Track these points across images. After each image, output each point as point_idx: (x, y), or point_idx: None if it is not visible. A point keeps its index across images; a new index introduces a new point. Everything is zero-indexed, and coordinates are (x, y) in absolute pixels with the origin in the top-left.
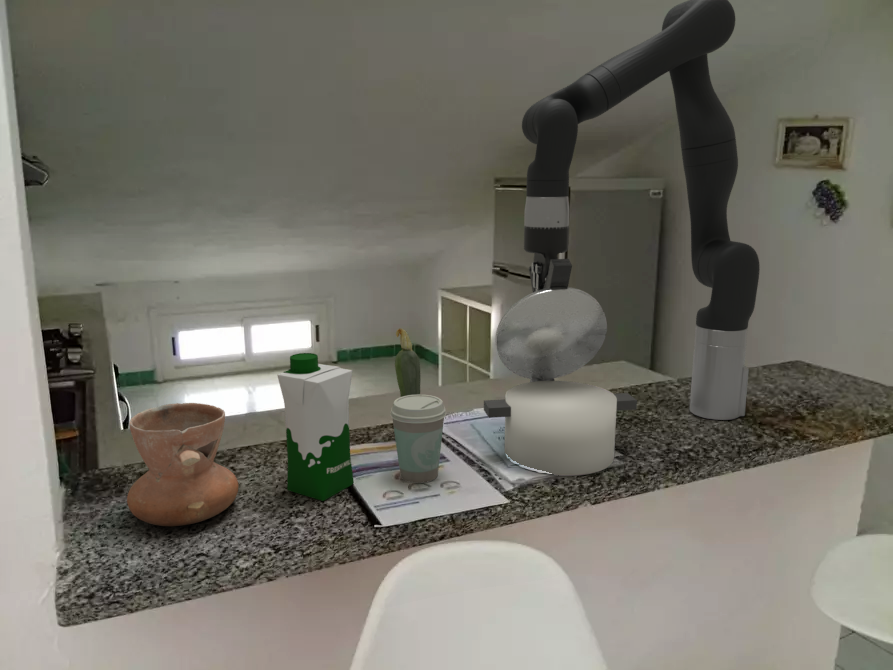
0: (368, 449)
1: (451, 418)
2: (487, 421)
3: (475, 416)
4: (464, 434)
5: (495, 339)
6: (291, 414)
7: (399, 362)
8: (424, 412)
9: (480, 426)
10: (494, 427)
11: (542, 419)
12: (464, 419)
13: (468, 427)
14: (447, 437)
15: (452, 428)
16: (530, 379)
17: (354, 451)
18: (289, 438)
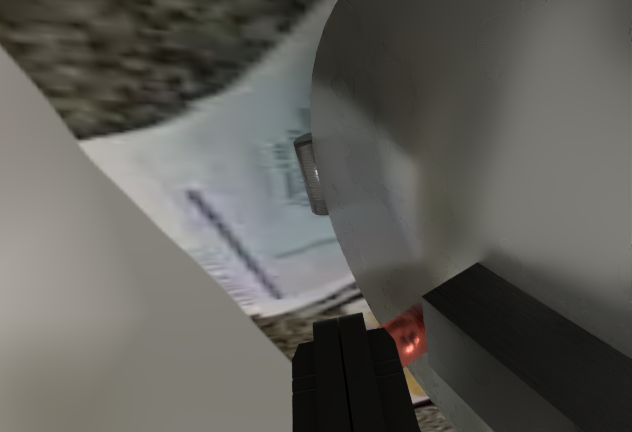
0: (406, 371)
1: (248, 291)
2: (256, 229)
3: (227, 252)
4: (338, 264)
5: (456, 428)
6: None
7: None
8: None
9: (289, 240)
10: (293, 215)
11: None
12: (250, 270)
13: (298, 260)
14: (355, 287)
15: (306, 284)
16: (316, 212)
17: (412, 383)
18: None
